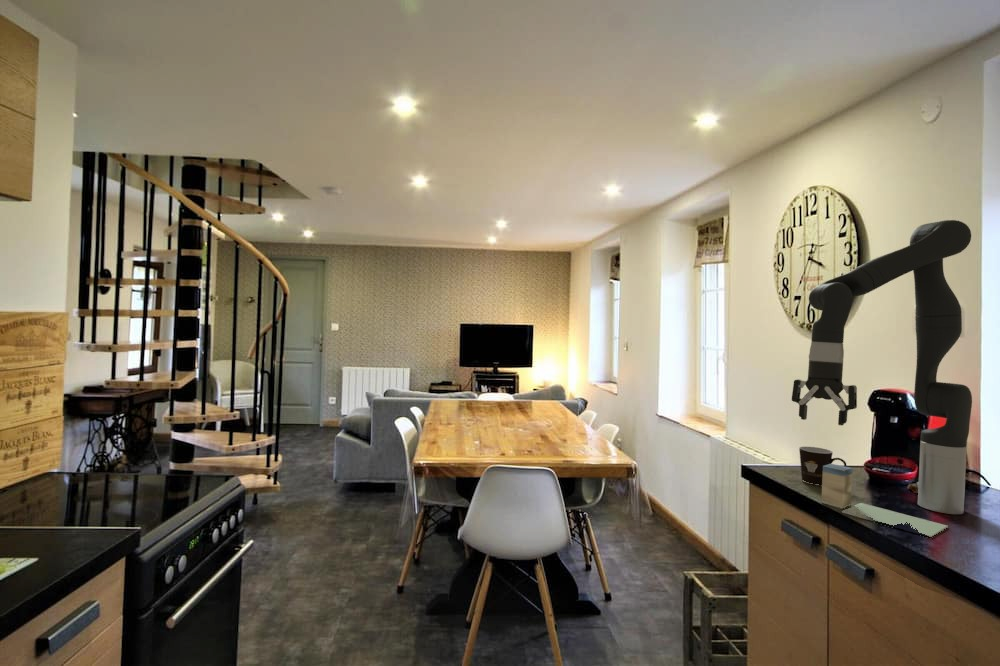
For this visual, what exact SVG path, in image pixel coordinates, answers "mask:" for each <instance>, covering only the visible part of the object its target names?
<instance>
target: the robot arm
mask: <svg viewBox="0 0 1000 666" xmlns="http://www.w3.org/2000/svg"><path fill="white" fill-rule="evenodd" d="M909 238H910V239H909V245H907V246H905V247H903V248H900V249H897V250H894V251H892V252H888V253H886V254H884V255H880V256H877V257H875V258H873V259H871V260H869V261H866V262H864V263H863V264H861V265H859V266H857V267H855V268H853V269H852V270H850V271H848V272H847V273H844V274H841V275H839V276H836V277H834V278H831V279H829V280H827V281H824V282H821V283H819V284H818V285H816V286H815V287H813V289H812V290H811V291H810V293H809V295H808V303H809V304H810V306H811V307H812V308H814V309H815V310H818V311H821V314H820V318H819V319H817V320H815V321H814V322H813V324H812V327H811V328H812V329H811V343H810V348H809V354H808V370H807V372H808V373H807V379H806V380H802V379H794V381H793V387H792V392H791V393H792V394H791V401H792V402H793V403H796V404H798V406H799V407H798V416H799V418H800V419H801V420H803V421H804V420H807V418H808V405H807V404H808V403H809V402H810V401H811V400H812V399H814V398H815V399H817V400H818V399H824V400H832V401H833V402H834V403H835V404H836V406H837V407H838V408H839V409H840V410H838V418H837V419H838V421H837V422H838V423H837V424H838V426H844V424H847V421H848V413H849V411H850V410H855V409H857V408H858V400H857V399H858V398H857V397H858V393H857V392H858V388H857V385H855V384H851V385H846V384H845V385H844V384H843V374H844V373H843V371H844V359H845V357H844V356H845V355H844V353H845V350H844V338H845V337H844V336H845V326H846V324H847V322H848V319H849V315H850V313H851V310H852V306H853V300H854V298H855V297H859V296H864V295H866V294H869V293H871V292H872V291H875V290H876V289H879V288H880V287H882V286H884V285H886V284H888V283H889V282H892V281H894V280H896V279H897V278H899V277H902V276H904V275H906V274H908V273H911V272H913V281H914V295H915V296H914V297H915V311H914V313H915V317H914V319H915V337H916V365H915V367H916V369H915V378H914V379H915V380H914V393H913V398H914V399H913V400H914V405H915V409H916V411H917V412H918V413H919V414H920V415H923V416H924V415H925V416H930V417H936V418H945V419H946V422H945V424H944V425H942V426H939V427H934V428H928V429H923V430H922V431H921V432H920V441H919V442H920V444H919V445H920V446H919V468H918V469H919V470H918V482H919V486H918V495H917V505H918V506H920V507H921V508H924V509H927V510H930V511H933V512H937V513H943V514H948V515H949V514H950V515H963V514H964V513H965V512H964V509H965V506H964V505H965V491H966V469H967V447H968V446H967V444H968V439H969V438H968V437H969V433H970V423H971V416H972V415H971V414H972V407H973V396H972V392H971V389H970V388H969V387H968V386H967V385H965V384H961V383H960V384H959V383H952V382H940V381H938V380H937V373H938V371H939V370H938V369H939V366H940V364H941V362H942V360H943V359H944V357H946V355H947V353H949V351H950V350H951V349H952V348H953V347H954V345H956V343H957V342H958V340H959V338H960V336H961V335H962V331H963V330H962V329H963V324H962V323H963V322H962V321H963V319H962V318H963V317H962V316H963V315H962V307H961V304H960V302H959V300H958V297H957V295H955V293H954V291H953V289H952V288H951V287H950V285H949V283H948V282H947V280H946V279H947V278H946V277H945V273H944V272H945V271H944V259H945V258H946V259H947V258H949V257H952V256H953V257H954V256H956V255H957V254H960V253H962V252H963V251H965V249H967V247H968V246H969V245H970V244H971V243H970V242H971V241H972V231H971V229H970V227H969V225H967V224H966V223H965V222H963V221H960V220H958V219H957V220H956V219H952V220H951V219H947V220H941V221H935V222H929V223H924V224H921V225H919V226H917V227H916V228H915V229H914V230H913V231H912V233H911V235H910V237H909ZM805 386H806V388H807V390H808V392H807V393H805V394H804V396H803V397H802V398H801V392H802V391H801V390H802V389H803V388H805ZM843 390H844V392H845V393H846V394H847V396H848V399H847V400H848V402H847V403H848V404H846V402H845V401H844V399H843V397H842V396H841V394H840V393H841V392H842V391H843Z"/></svg>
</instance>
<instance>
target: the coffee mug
mask: <svg viewBox="0 0 1000 666" xmlns="http://www.w3.org/2000/svg"><path fill="white" fill-rule="evenodd" d="M798 449H799V450H798V451H799V460H800V471H801V472H800V473H801V481H802V480H804V481H806V482H809V483H813V484H819V485H822V475H823V466H825V465H828V464H833V462H835V461H837V460H838V461H840V462H842V464H843V466H845V467H848V466H847V462H846V460H844V459H842V458H840V457H834V458H833V457H832V456H833V451H832V450H830V449H827V448H823V447H818V446H817V447H815V446H799V448H798Z"/></svg>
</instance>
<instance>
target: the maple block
mask: <svg viewBox="0 0 1000 666" xmlns="http://www.w3.org/2000/svg"><path fill="white" fill-rule="evenodd" d="M852 481H853V467H849V466H847V467H845V466H844V465H841V464H840V465H839V464H834V463H831V464H828V465H825V466H823V475H822V486H821V498H820V499H821V500H823V501H827V502H829V503H833V504H836V505H839V506H842V507H843V506H846V505H849V504H852Z"/></svg>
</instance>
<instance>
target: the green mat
mask: <svg viewBox="0 0 1000 666" xmlns="http://www.w3.org/2000/svg"><path fill="white" fill-rule="evenodd" d="M852 506H853V507H854V506H855V507H856V508H857V507H858V508H857V509H859V512H860V514H861V515H862V514H863V515H864V514H865V515H866V516H868V517H871V518H873V520H875V521H878V522H882V523H886V524H889V525H893V526H894V525H897V524H901V523H902V524H903V525H904V524H905V523H906V522H907V523H908V524H909V523H910V526H911V525H912V526H911V528H912V527H913V529H915V528H916V529H917V530H918V532H919V533H922V534H925V535H927V536H929V537H932V536H934V535H936V534H937V535H939V534H940V533H942V532H944V531H945V530H947V529H948V527H949V525H947V524H944V523H943V524H942V523H939V522H935V521H932V520H931V521H930V520H928V519H925V518H921V517H915V516H911V515H908V514H906V513H905V514H904V513H901V512H897V511H894V510H890V509H886V508H882V507H878V506H875V505H871V504H867V503H863V502H860V503H857V504H855V505H851V506H850V507H852ZM855 507H854V508H855ZM907 523H906V524H907ZM946 528H947V529H946ZM916 529H915V530H916ZM944 529H945V530H944ZM941 531H942V532H941ZM939 532H940V533H939ZM938 533H939V534H938ZM937 535H936V536H937ZM934 537H935V536H934ZM932 538H933V537H932Z"/></svg>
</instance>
